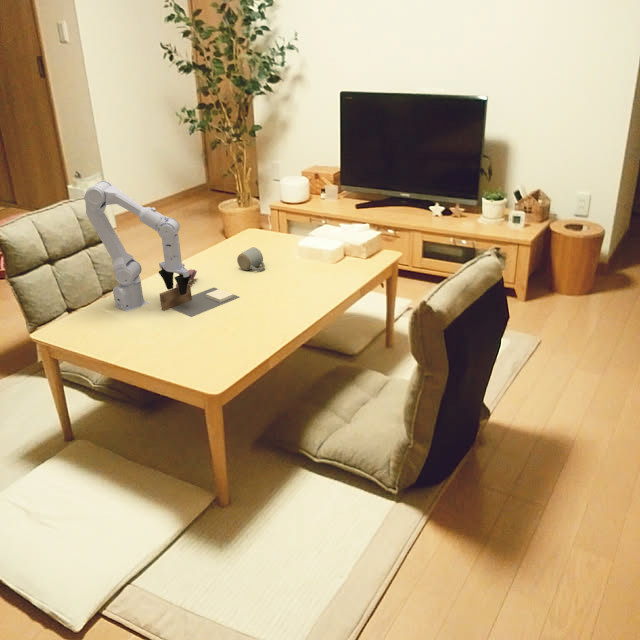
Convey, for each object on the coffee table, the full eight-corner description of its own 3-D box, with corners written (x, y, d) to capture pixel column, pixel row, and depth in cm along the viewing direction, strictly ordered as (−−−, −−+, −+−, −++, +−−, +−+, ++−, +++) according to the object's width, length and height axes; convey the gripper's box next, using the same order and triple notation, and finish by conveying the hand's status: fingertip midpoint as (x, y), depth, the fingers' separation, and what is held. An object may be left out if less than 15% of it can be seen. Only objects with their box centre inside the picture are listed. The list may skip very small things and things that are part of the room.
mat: (191, 318, 225) (191, 316, 225) (165, 307, 235) (165, 305, 235) (240, 298, 240) (240, 297, 240) (214, 288, 249) (213, 287, 249)
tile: (220, 299, 235) (233, 294, 239) (205, 294, 240) (218, 289, 244) (220, 303, 235) (233, 297, 239) (206, 297, 240) (219, 292, 244)
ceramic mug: (236, 269, 268) (235, 251, 265) (250, 263, 274) (249, 245, 271) (256, 274, 262) (255, 256, 259) (269, 268, 268) (268, 250, 265)
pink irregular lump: (185, 293, 250) (191, 278, 247) (174, 287, 250) (180, 272, 247) (194, 283, 259) (200, 268, 256) (183, 278, 259) (189, 263, 256)
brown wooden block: (164, 310, 231) (162, 294, 228) (161, 309, 232) (159, 293, 229) (192, 300, 239) (190, 284, 236) (189, 298, 240) (187, 283, 237)
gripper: (194, 256, 226) (198, 293, 232) (169, 247, 235) (173, 283, 241) (177, 261, 221) (182, 299, 227) (152, 252, 230) (157, 289, 236)
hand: (176, 291), depth 234 cm, fingers open, 7 cm apart
